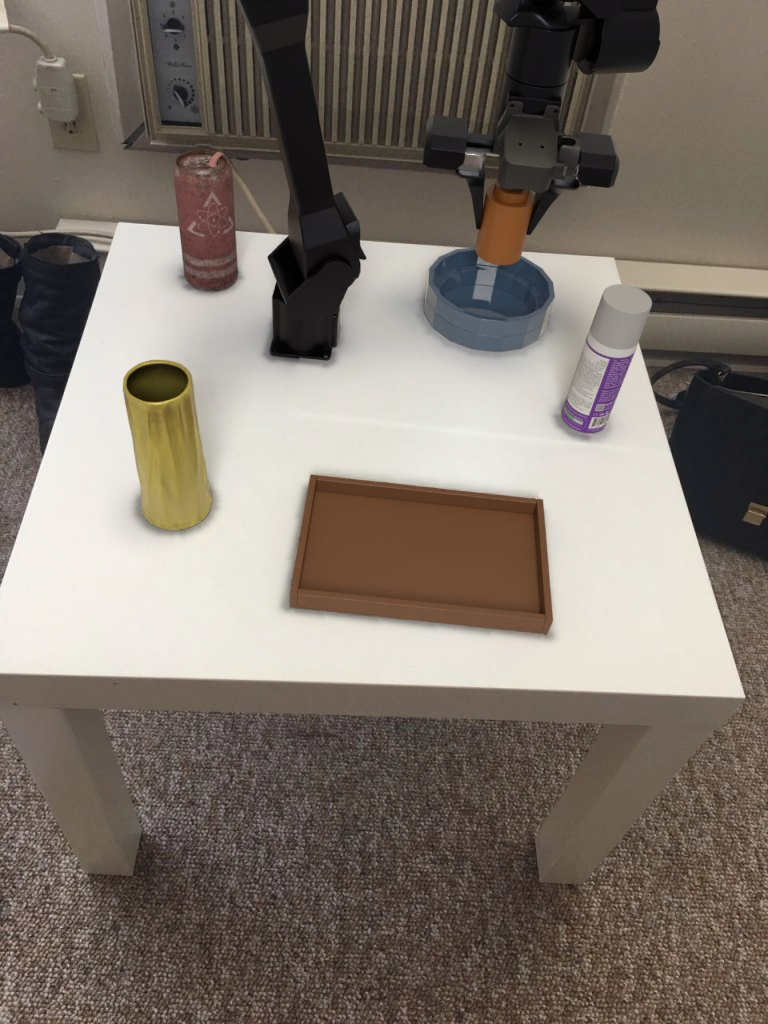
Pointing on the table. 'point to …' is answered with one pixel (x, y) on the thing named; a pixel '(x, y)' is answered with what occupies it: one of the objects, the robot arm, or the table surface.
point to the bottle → (504, 224)
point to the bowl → (487, 301)
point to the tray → (423, 555)
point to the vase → (167, 444)
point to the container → (605, 358)
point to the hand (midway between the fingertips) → (502, 230)
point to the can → (206, 219)
